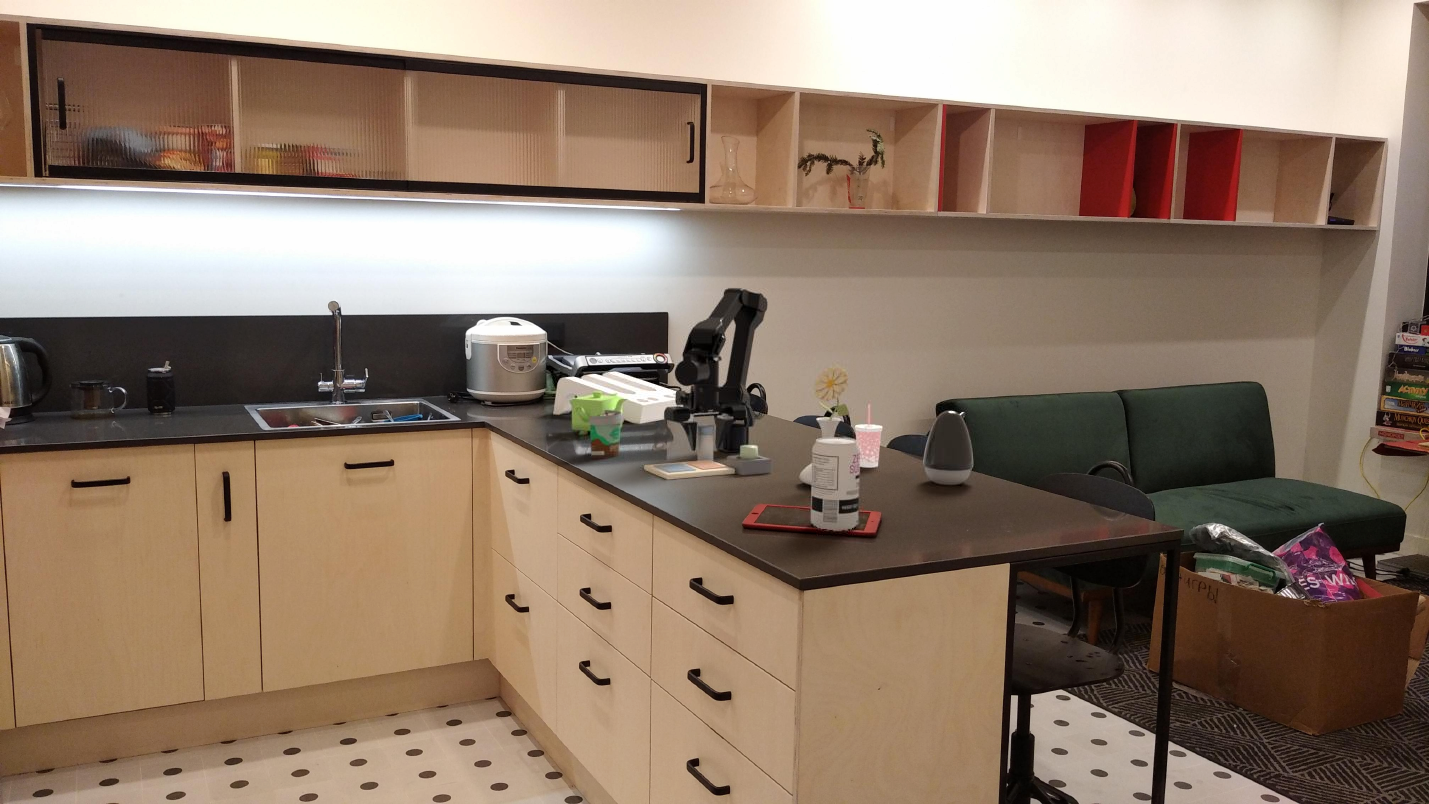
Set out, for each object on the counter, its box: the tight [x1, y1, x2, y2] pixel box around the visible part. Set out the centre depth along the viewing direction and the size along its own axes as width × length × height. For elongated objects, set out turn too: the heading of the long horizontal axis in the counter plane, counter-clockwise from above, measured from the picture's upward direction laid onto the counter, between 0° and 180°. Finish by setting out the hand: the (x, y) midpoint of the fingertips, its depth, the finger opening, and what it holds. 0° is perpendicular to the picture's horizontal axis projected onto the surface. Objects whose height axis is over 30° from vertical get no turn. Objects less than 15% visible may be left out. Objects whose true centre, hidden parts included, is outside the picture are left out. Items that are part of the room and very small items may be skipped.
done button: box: [739, 444, 759, 460], centre depth 236 cm, size 4×4×4 cm
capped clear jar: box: [697, 424, 715, 461], centre depth 248 cm, size 4×4×8 cm
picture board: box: [643, 460, 736, 480], centre depth 235 cm, size 16×12×1 cm
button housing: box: [726, 454, 772, 476], centre depth 236 cm, size 7×7×3 cm
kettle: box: [569, 391, 628, 436], centre depth 287 cm, size 15×14×11 cm
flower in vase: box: [798, 365, 851, 486], centre depth 220 cm, size 13×11×25 cm
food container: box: [589, 410, 625, 459], centre depth 254 cm, size 12×6×10 cm, turn 168°
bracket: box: [552, 371, 683, 425], centre depth 324 cm, size 24×12×32 cm
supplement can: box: [810, 436, 861, 532], centre depth 187 cm, size 8×8×15 cm
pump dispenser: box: [922, 410, 974, 486], centre depth 226 cm, size 10×10×15 cm
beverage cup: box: [854, 403, 883, 468], centre depth 244 cm, size 6×6×14 cm
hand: (705, 449), depth 248 cm, fingers open, 6 cm apart
